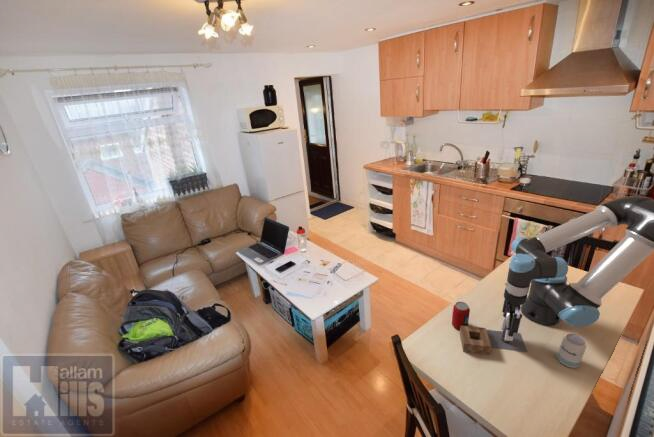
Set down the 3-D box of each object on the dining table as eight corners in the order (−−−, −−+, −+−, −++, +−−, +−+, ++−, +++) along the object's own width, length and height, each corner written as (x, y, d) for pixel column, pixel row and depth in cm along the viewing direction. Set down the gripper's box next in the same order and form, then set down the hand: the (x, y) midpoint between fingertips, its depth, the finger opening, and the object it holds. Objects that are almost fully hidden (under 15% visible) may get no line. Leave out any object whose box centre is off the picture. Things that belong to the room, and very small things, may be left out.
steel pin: (508, 337, 128) (514, 311, 122) (510, 343, 125) (516, 316, 119) (500, 336, 129) (505, 310, 123) (502, 342, 126) (508, 315, 120)
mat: (520, 333, 130) (520, 333, 130) (527, 352, 121) (527, 352, 121) (484, 329, 133) (484, 329, 133) (489, 347, 125) (489, 347, 125)
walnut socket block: (484, 336, 130) (485, 328, 128) (489, 355, 122) (491, 346, 119) (459, 333, 133) (460, 325, 131) (462, 352, 124) (464, 343, 122)
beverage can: (469, 332, 133) (472, 311, 128) (453, 330, 135) (455, 310, 130) (465, 321, 139) (468, 300, 134) (450, 320, 141) (452, 300, 136)
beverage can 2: (552, 359, 117) (560, 337, 112) (562, 351, 120) (569, 329, 115) (573, 372, 112) (581, 349, 107) (582, 363, 115) (591, 341, 110)
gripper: (499, 276, 125) (491, 318, 135) (512, 305, 109) (502, 350, 119) (519, 277, 123) (510, 320, 133) (535, 307, 107) (523, 353, 117)
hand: (506, 334), depth 126 cm, fingers open, 5 cm apart
